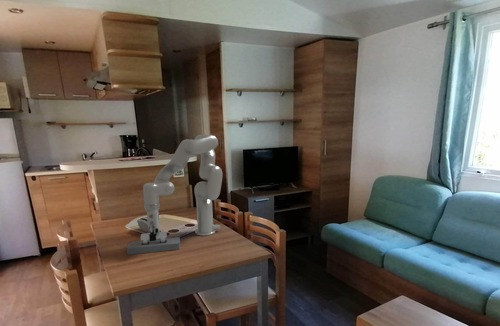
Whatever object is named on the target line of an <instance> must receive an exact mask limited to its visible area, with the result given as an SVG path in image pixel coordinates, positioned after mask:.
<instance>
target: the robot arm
mask: <svg viewBox="0 0 500 326" xmlns="http://www.w3.org/2000/svg"><path fill="white" fill-rule="evenodd" d="M218 145H219V139H218V138H217V137H216V135H214V134H197V136H195V138H194V139H187V138H186V139H183V140H182V141H181V142H180V144H179V145H178V147H177V148H176V150H175V152H174V154H173V156H172V157H171V159H170V160H169V162H168V163H166V165H164V166H163V167H162V168H161V169H160V170H159V172H158V173H157V175H156V177H155V178H154V181H152V182H146V183H145V184H143V185H142V192H143V205H144V206H143V207H144V211H146V218H147V222H148V229H149V232H148V233H149V239H150V241H156V240H157V239H156V232H158V229H159V227H160V214H159V213H160V212H159V210H160V207H161V206H160V196H161V197H162V196H163V197H164V196H169V195H171V194H174V192H175V184H174V183H173V182H171V181H169V180H170V178H171V177H172V176H173V175H175V174H176V173H178V172H180V171H182V170H184V169H185V168H186V165H187V164H188V162H189V160H190V158H191V156H199V155H200V157H201V158H200V165H199V169H198V170H199V171H198V174H199V177H200V179H202V180H205V181H199V182H197V183H196V184H195V186H194V196H195V202H196V220H197V221H196V229H195V230H194V232H195V235H198V236H202V237H203V236H211V235H213V234H215V233H216V230H217V229H221V227H222V226H221V224H220V225H219V224H214V221H213V220H214V219H213V218H214V217H213V201H215V200H217V198H219V196H220V194H221V189H222V182H223V171H222V168H221V167H220V166H218V165H216V152H215V149H216V148H217V147H218Z"/></svg>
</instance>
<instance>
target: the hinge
mask: <svg viewBox="0 0 500 326" xmlns="http://www.w3.org/2000/svg"><path fill="white" fill-rule="evenodd" d="M136 223H137V225H138V227H139V230H141V229H143V230H142V231H144V230H145V231H144V232H146V231H148V232H147V233H149V229H148V222H147V217H145V216H144V217H140V219H138V220H136ZM158 232H162V230H161V229H159V228H158Z"/></svg>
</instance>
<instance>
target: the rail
mask: <svg viewBox="0 0 500 326" xmlns="http://www.w3.org/2000/svg"><path fill="white" fill-rule="evenodd" d="M180 238H181V237H180V236H179V237H178V236H177V237H170V238H168V237H167V238H165V243H161V239H156V241H150V240H148V245H143V240H139V241H138V240H137V241H131V242H129V244H128V246H127V247H126V255H127V256H130V255H140V254H149V253H159V252H167V251H168V252H169V251H179V250H180V246H181V239H180Z"/></svg>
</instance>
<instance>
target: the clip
mask: <svg viewBox="0 0 500 326" xmlns="http://www.w3.org/2000/svg"><path fill="white" fill-rule="evenodd" d="M167 238H168V231H161V232H156V240H157V239H161V243H165V239H167ZM148 240H150V239H149V232H145V233H141V234H140V241H143V245H148Z"/></svg>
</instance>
